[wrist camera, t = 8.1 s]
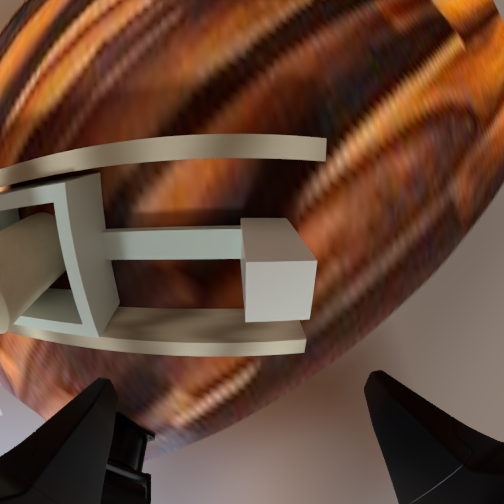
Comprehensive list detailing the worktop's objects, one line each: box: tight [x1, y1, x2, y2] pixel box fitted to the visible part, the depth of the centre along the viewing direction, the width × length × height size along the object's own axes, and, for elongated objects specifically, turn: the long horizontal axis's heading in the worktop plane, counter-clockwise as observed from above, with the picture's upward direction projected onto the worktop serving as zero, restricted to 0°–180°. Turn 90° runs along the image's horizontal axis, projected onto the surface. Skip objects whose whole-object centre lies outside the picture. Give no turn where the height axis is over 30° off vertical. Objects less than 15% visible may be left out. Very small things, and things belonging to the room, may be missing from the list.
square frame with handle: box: [0, 173, 317, 338], centre depth 14 cm, size 22×10×7 cm, turn 89°
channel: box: [0, 134, 326, 356], centre depth 13 cm, size 36×13×9 cm, turn 89°
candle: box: [0, 212, 66, 334], centre depth 13 cm, size 6×6×10 cm
